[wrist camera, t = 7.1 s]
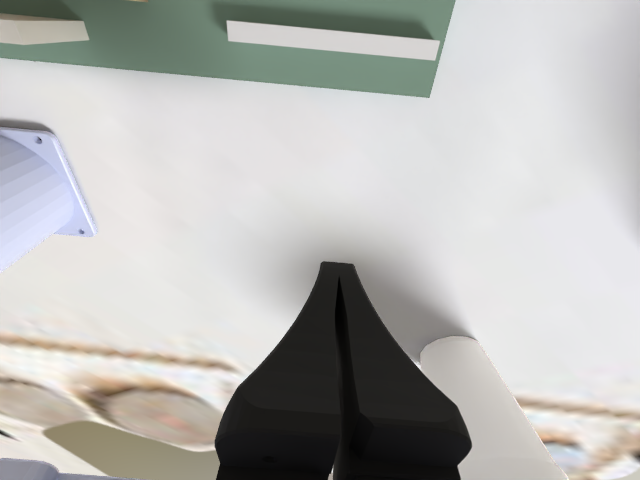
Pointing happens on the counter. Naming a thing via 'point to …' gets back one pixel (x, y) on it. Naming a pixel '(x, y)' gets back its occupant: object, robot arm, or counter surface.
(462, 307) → the counter surface
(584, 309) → the counter surface
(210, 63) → the pitch mat
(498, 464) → the foam cup
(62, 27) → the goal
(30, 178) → the robot arm
